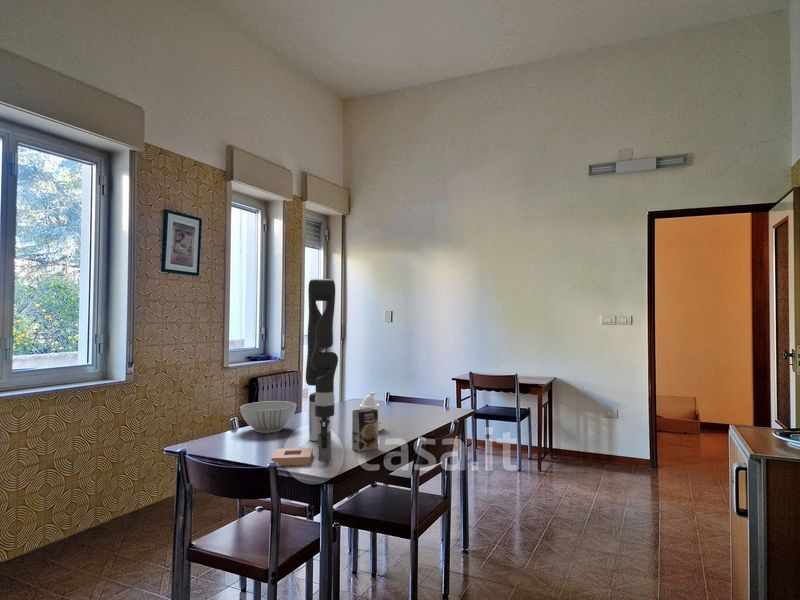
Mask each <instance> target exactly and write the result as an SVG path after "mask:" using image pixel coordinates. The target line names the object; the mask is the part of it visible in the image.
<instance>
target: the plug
mask: <svg viewBox="0 0 800 600" xmlns="http://www.w3.org/2000/svg"><path fill="white" fill-rule="evenodd" d="M323 434H326V433H323ZM320 435H321V433H320V431H319V433H318V441H317V442H318V449H317V450H318V451H317V455H318V461H323V460H324V461H326V460H327V461H328V460H329V461H331V458H332V430H330V431H329V433H328V437H327V448H321V437H320Z"/></svg>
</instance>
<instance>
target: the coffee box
mask: <svg viewBox="0 0 800 600" xmlns="http://www.w3.org/2000/svg"><path fill="white" fill-rule="evenodd" d="M351 411H352V412H351V413H352V414H351V415H352V416H351V417H352V420H351V421H352V422H351V423H352V424H351V427H352V428H351V429H352V430H351V435H352V436H351V438H352V439H351V441H352V442H351V443H352V444H351V447H352V450H354V451H356V450H357V452H359V451H362V452H366V451H365V450H367V451H371V449H373V450H378V449H379V431H378V410H376V409H371V408H368V409H360V408H359V409H353V410H351Z"/></svg>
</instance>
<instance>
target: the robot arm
mask: <svg viewBox="0 0 800 600" xmlns="http://www.w3.org/2000/svg"><path fill="white" fill-rule="evenodd" d="M307 293H308V322H307V323H308V324H307V356H306V367H305V383H306V384H307V386H314V387H315V392H312V393H310V394H309V395H308V407H309V408H308V412H309V413H308V417H309V418H308V421H309V422H308V423H309V424H308V425H309V426H308V431H309V433H308V439H309V441H313V442H318V433H319V431H320V433H321V435H320V437H321V448H327V437H328V433H329V431H331V417H333V416H335V394H334V393H335V391H334V390H335V389H334V388H335V386H334V383H335V382H334V381H335V374H336V370H337V367H338V363H339V357H338V355H337V353H335V352H334V351H326V352H325V351H324V350H326V349H330V348H331V347H332V346H333V345H334V344H333V343H334V331H333V329H334V326H333V325H334V314H335V302H336V283H335V281H334V280H333V279H331V278H311V279H309V282H308V289H307ZM317 302H327V304H326V307H325V309H324V311H323V312H321V311H320V310H319V307H318V304H317ZM323 433H326V434H323Z"/></svg>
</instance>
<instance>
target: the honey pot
mask: <svg viewBox="0 0 800 600" xmlns="http://www.w3.org/2000/svg"><path fill="white" fill-rule="evenodd" d="M375 395H376V391H370V394H367V395H366V396H365V397H364V399H363V400H362V403H360V404H359V407H360V408H359V410H360V409H368V408H371V409H376V410H378V432H380V430H381V431H383V417H382V414H381V410H380V408H379V407H380V406H381V405H380V404H379V403H377V401H376V399H375V397H374V396H375Z"/></svg>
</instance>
